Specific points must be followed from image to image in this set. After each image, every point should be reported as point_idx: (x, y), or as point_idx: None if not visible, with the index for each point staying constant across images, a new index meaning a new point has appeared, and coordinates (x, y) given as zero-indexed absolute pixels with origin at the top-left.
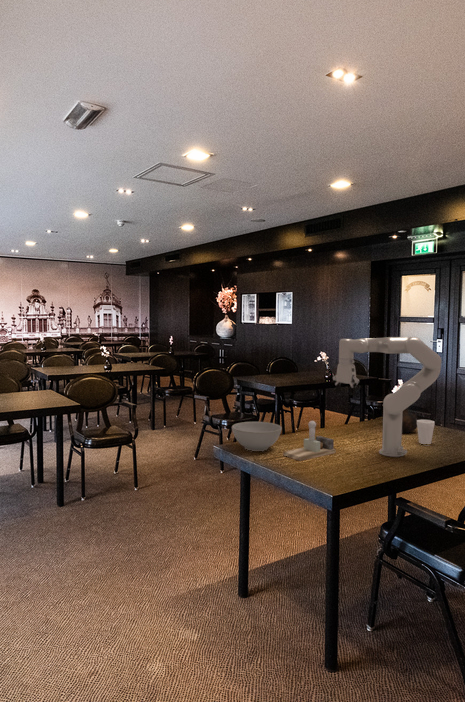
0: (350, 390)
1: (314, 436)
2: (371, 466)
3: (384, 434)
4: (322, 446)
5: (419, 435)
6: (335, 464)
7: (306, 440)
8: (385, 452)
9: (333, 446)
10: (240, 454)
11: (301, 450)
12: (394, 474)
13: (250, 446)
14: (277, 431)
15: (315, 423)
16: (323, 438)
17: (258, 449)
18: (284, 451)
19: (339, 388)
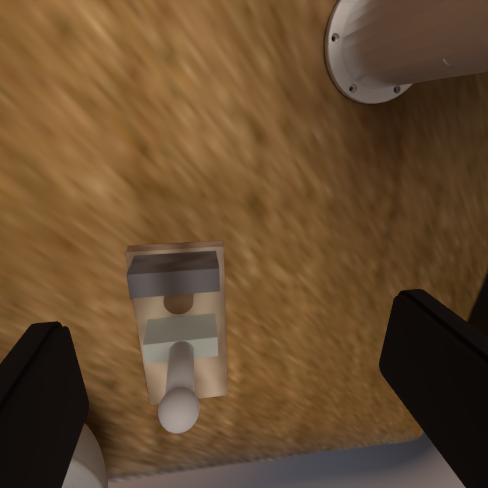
0: (439, 440)
1: (193, 361)
2: (394, 256)
3: (421, 75)
4: None
5: None
6: (311, 326)
7: (162, 360)
8: (373, 88)
9: (216, 254)
10: None
11: None
12: (471, 259)
13: (71, 474)
14: (98, 475)
15: (195, 410)
16: (178, 292)
17: None
18: (150, 401)
19: (38, 437)
